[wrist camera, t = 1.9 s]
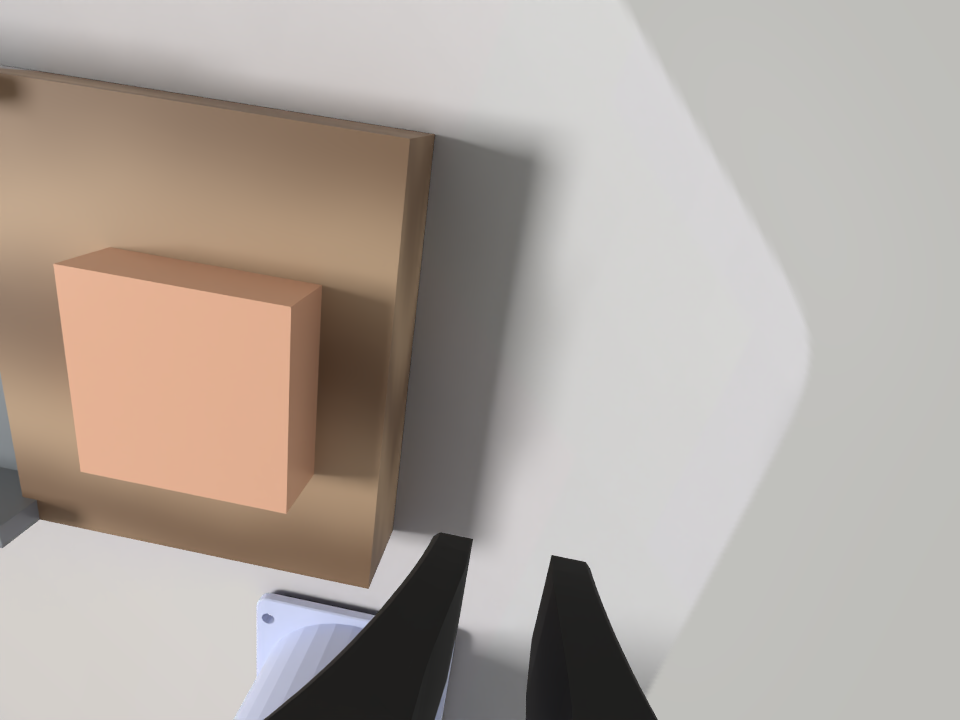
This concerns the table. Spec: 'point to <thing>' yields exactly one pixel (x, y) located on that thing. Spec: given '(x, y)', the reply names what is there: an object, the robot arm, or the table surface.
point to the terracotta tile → (192, 375)
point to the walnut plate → (224, 243)
